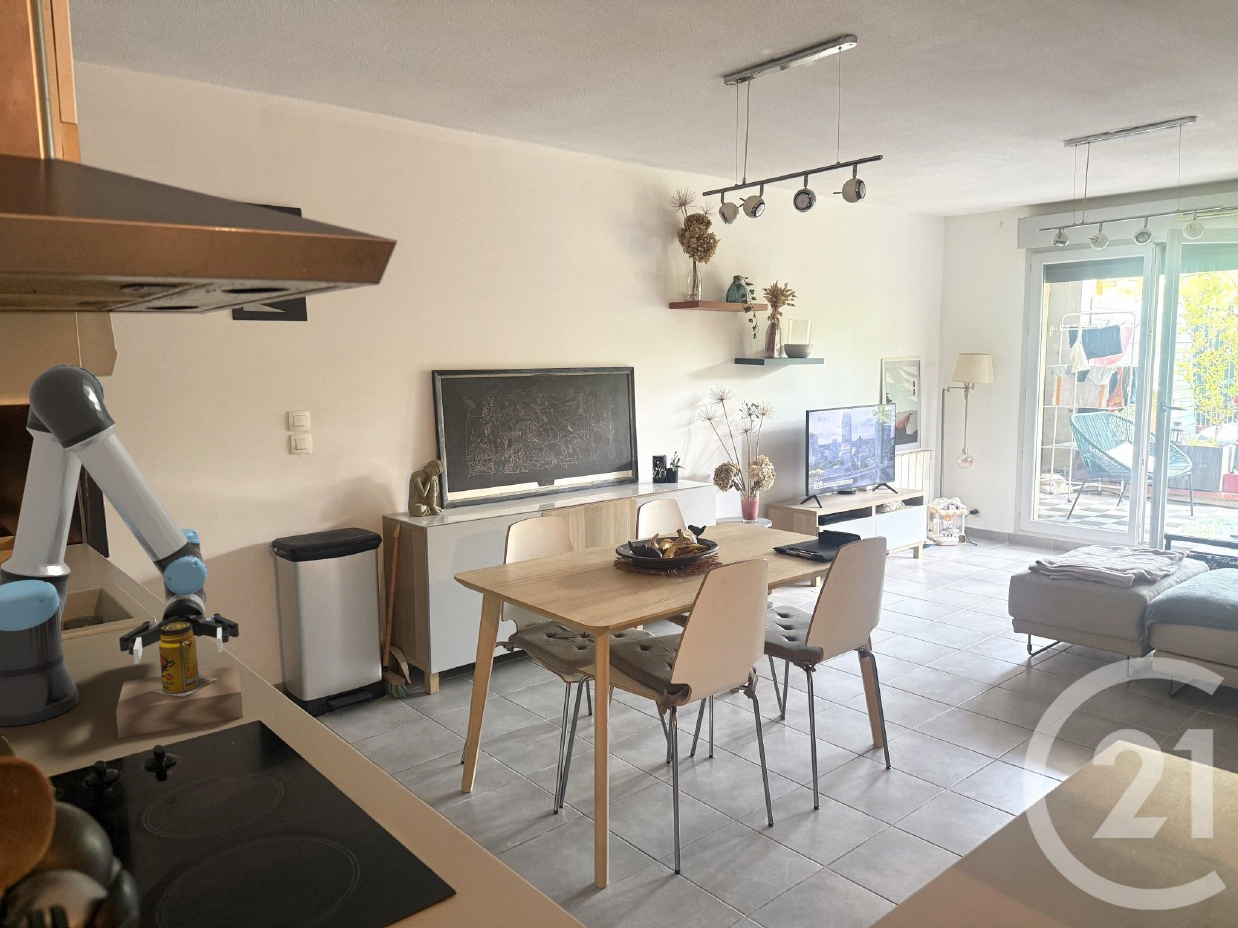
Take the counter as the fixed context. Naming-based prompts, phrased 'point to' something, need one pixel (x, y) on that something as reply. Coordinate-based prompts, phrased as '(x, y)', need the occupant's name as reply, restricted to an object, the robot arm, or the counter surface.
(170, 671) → the condiment
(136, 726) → the stand
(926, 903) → the counter surface
